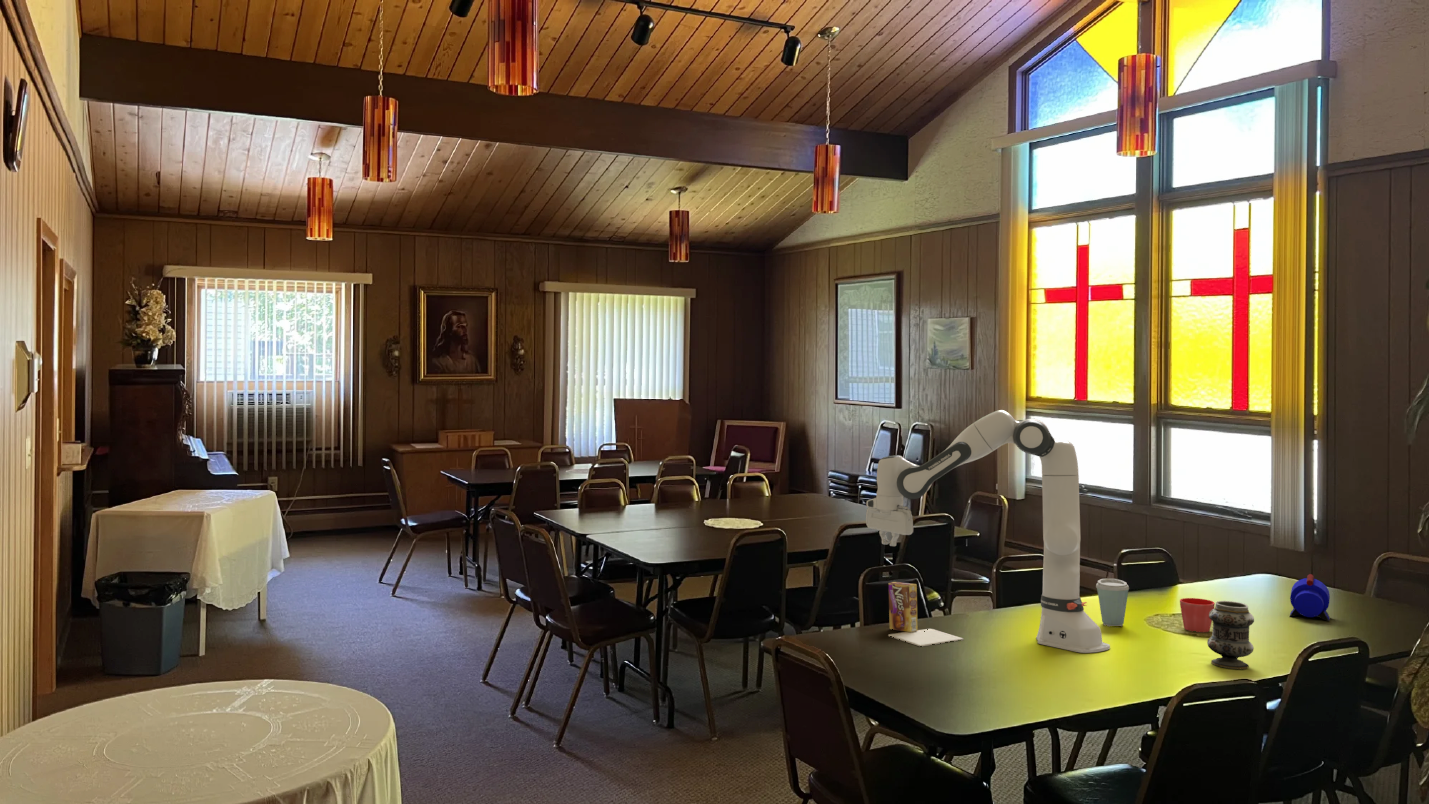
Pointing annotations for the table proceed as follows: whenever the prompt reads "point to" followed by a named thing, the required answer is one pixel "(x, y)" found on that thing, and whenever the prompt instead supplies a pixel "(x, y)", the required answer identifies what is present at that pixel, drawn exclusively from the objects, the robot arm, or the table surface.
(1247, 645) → the apothecary jar
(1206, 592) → the table surface
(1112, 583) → the disposable coffee cup
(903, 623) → the candy box
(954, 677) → the table surface
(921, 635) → the mat
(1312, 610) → the alarm clock
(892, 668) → the table surface
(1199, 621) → the flower pot
